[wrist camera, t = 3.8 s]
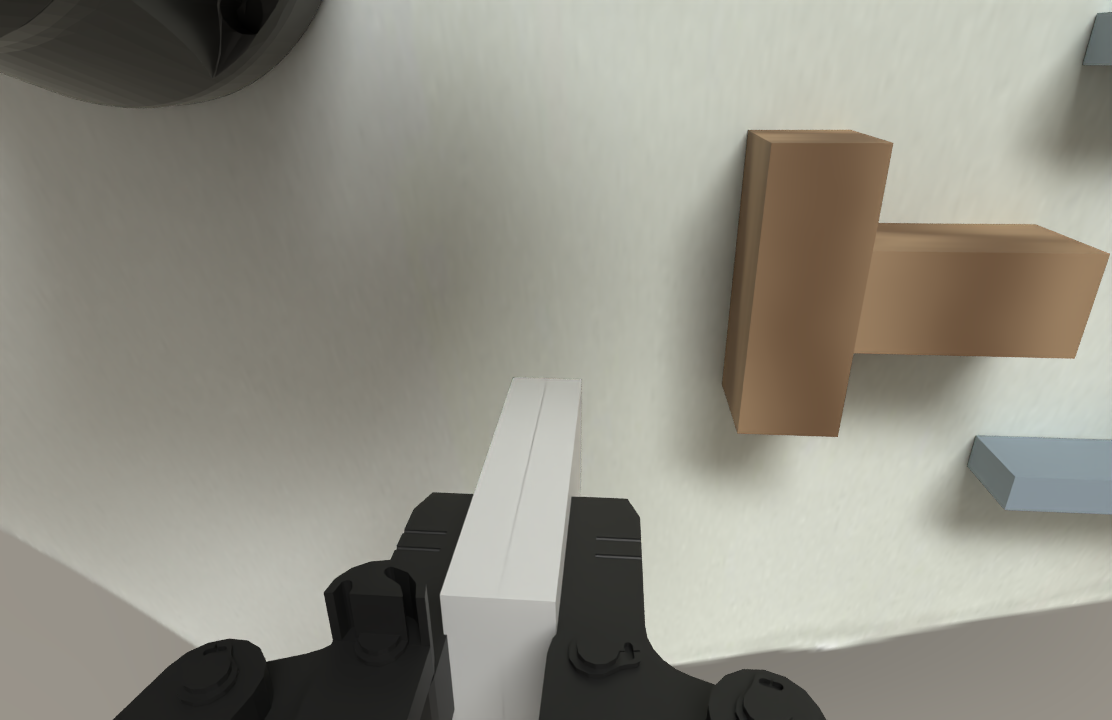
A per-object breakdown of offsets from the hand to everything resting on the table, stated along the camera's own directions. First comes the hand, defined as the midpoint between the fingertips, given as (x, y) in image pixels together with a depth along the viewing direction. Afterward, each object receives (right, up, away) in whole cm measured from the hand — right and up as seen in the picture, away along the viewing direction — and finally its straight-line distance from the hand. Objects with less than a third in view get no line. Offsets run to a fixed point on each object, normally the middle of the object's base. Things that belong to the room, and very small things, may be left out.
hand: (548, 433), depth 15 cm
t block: (+12, +5, +10) cm, 17 cm away
